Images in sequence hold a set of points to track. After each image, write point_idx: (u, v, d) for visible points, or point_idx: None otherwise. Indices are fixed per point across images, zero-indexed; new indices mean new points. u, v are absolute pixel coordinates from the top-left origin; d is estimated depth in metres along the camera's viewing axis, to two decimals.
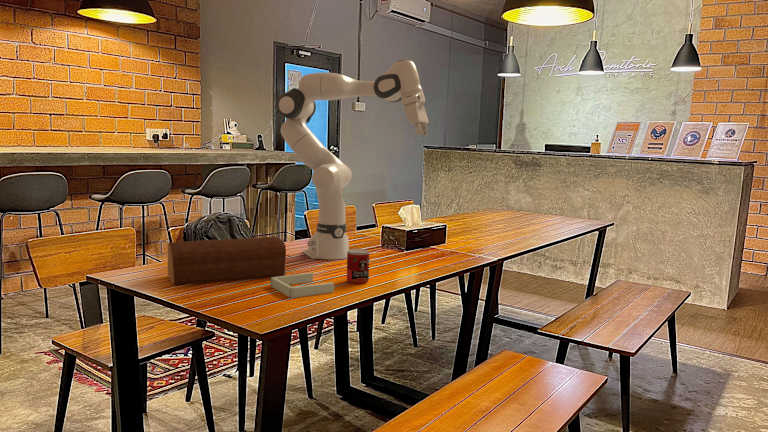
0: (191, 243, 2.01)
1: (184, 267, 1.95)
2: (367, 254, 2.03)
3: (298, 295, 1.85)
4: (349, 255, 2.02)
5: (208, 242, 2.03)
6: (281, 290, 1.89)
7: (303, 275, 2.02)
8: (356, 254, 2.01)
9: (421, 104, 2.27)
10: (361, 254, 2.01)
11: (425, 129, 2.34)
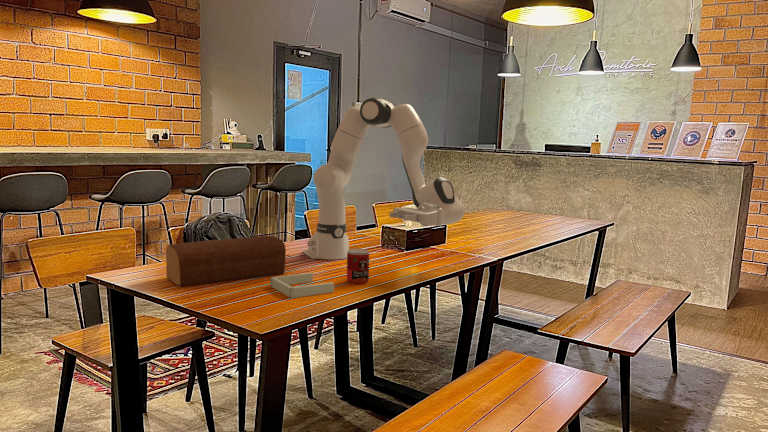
0: (193, 244, 1.99)
1: (190, 268, 1.93)
2: (367, 254, 2.03)
3: (298, 295, 1.85)
4: (349, 255, 2.02)
5: (210, 242, 2.02)
6: (281, 290, 1.89)
7: (303, 275, 2.02)
8: (356, 254, 2.01)
9: None
10: (361, 254, 2.01)
11: None
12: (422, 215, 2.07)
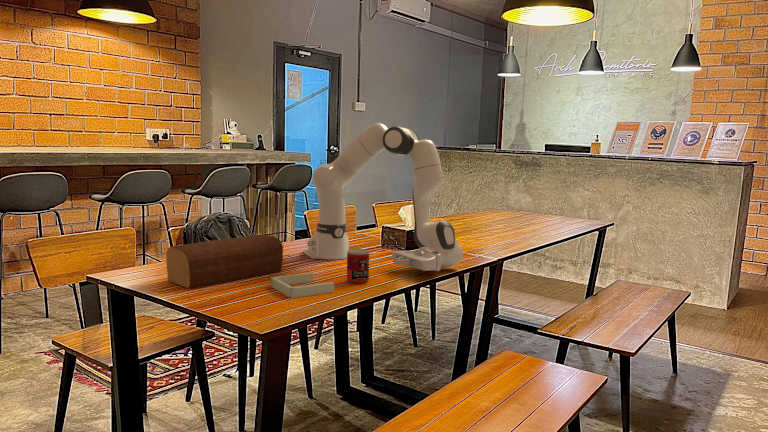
0: (197, 245, 1.97)
1: (199, 269, 1.92)
2: (367, 254, 2.03)
3: (298, 295, 1.85)
4: (349, 255, 2.02)
5: (212, 243, 2.01)
6: (281, 290, 1.89)
7: (303, 275, 2.02)
8: (356, 254, 2.01)
9: None
10: (361, 254, 2.01)
11: None
12: (421, 262, 2.10)
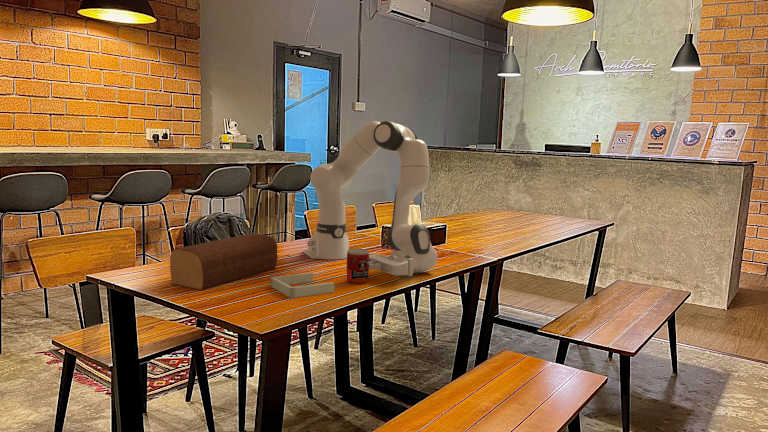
0: (204, 246, 1.96)
1: (211, 270, 1.91)
2: (367, 254, 2.03)
3: (298, 295, 1.85)
4: (349, 255, 2.02)
5: (216, 243, 2.01)
6: (281, 290, 1.89)
7: (303, 275, 2.02)
8: (356, 254, 2.01)
9: None
10: (361, 254, 2.01)
11: None
12: (392, 266, 2.03)
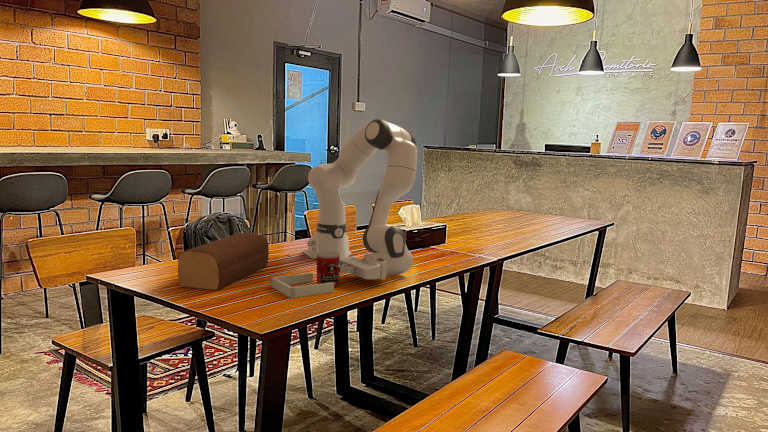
0: (212, 247, 1.95)
1: (224, 270, 1.92)
2: (337, 257, 1.96)
3: (298, 295, 1.85)
4: (318, 258, 1.96)
5: (221, 244, 2.01)
6: (281, 290, 1.89)
7: (303, 275, 2.02)
8: (325, 257, 1.94)
9: None
10: (330, 257, 1.95)
11: None
12: (363, 270, 1.96)
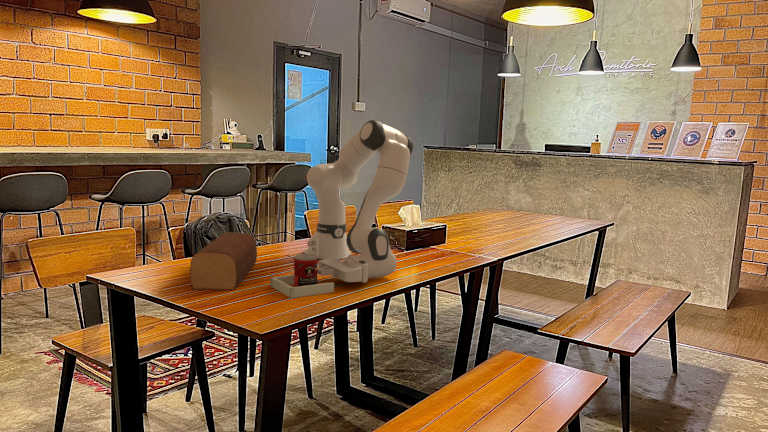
0: (222, 247, 1.95)
1: (239, 269, 1.93)
2: (314, 260, 1.92)
3: (298, 295, 1.85)
4: (295, 261, 1.92)
5: (226, 244, 2.01)
6: (281, 290, 1.89)
7: None
8: (302, 260, 1.90)
9: None
10: (307, 260, 1.90)
11: None
12: (344, 272, 1.93)
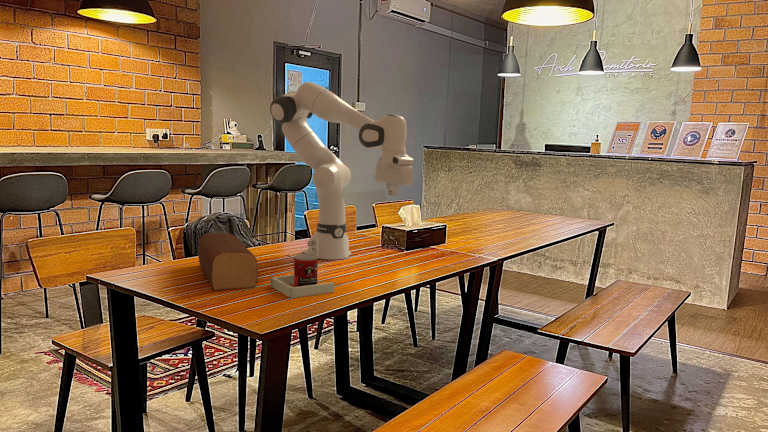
0: (235, 246, 1.97)
1: None
2: (314, 260, 1.92)
3: (298, 295, 1.85)
4: (295, 261, 1.92)
5: (233, 243, 2.02)
6: (281, 290, 1.89)
7: None
8: (302, 260, 1.90)
9: None
10: (307, 260, 1.90)
11: (391, 189, 2.22)
12: None
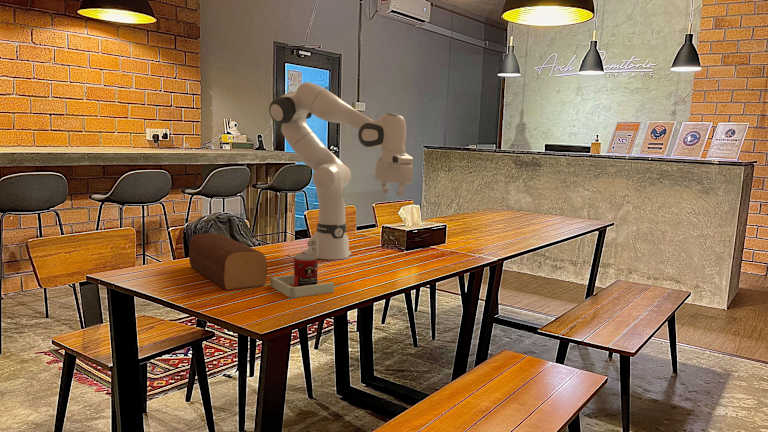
0: (242, 246, 1.98)
1: None
2: (314, 260, 1.92)
3: (298, 295, 1.85)
4: (295, 261, 1.92)
5: (236, 243, 2.03)
6: (281, 290, 1.89)
7: None
8: (302, 260, 1.90)
9: None
10: (307, 260, 1.90)
11: (386, 187, 2.25)
12: (403, 184, 2.12)
